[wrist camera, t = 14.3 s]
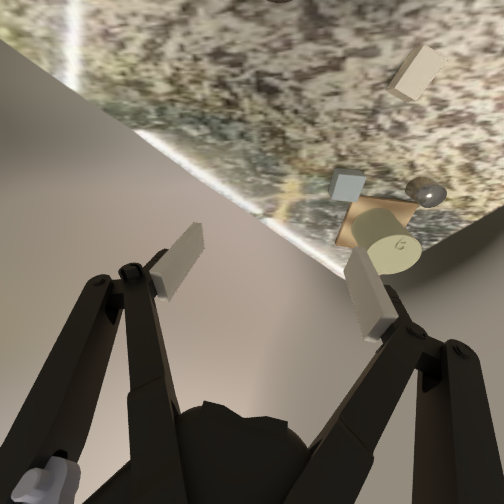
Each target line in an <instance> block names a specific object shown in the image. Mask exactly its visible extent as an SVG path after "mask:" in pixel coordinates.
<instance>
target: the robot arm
mask: <svg viewBox="0 0 504 504" xmlns="http://www.w3.org/2000/svg"><path fill="white" fill-rule="evenodd" d="M267 1H270V2H275V3H284V2H289V1H292V0H267ZM203 250H204V240H203V230H202V224H201V223H195V222H194V223H193V224H192V225H191V226H190V227H189V228H188V229H187V230H186V231H185V232H184V233H183V235H182V236H181V237H180V238H179V239H178V240H177V241H176V242H175V243H174V244H173V245H172V247H171V248H170V249H163V250H161V251H159V252H158V253H157V254H156V255H155V256H154V257H153V258H152V259H151V261H149V262H148V263H147V264H146V265H145V266H144V267H143V268H142V265H141V264H139V263H129V264H126V265H124V266H122V267H121V268H120V269H119V271H118V273H119V275H120V278H121V279H119V280H112V279H111V277H110V276H109V275H105V274H101V275H97V276H95V277H93V278H91V279H90V280H89V281H88V282H87V283H86V285H85V287H84V289H83V290H82V292H81V294H80V296H79V298H78V300H77V302H76V304H75V306H74V308H73V310H72V312H71V314H70V315H69V317H68V319H67V321H66V323H65V325H64V327H63V329H62V331H61V333H60V335H59V337H58V338H57V341H56V342H55V344H54V346H53V348H52V350H51V352H50V354H49V356H48V358H47V360H46V362H45V363H44V365H43V367H42V369H41V371H40V373H39V375H38V377H37V379H36V381H35V383H34V385H33V387H32V388H31V390H30V393H29V394H28V396H27V398H26V400H25V402H24V404H23V406H22V408H21V410H20V412H19V413H18V415H17V417H16V419H15V421H14V423H13V425H12V427H11V429H10V431H9V433H8V435H7V437H6V438H5V441H4V442H3V444H2V446H1V447H0V504H74V497H75V494H76V492H77V490H78V487H79V480H80V475H81V471H80V467H79V465H78V464H77V462H78V460H79V457H80V455H81V452H82V450H83V448H84V445H85V442H86V439H87V436H88V433H89V430H90V426H91V423H92V419H93V416H94V412H95V408H96V405H97V401H98V398H99V394H100V390H101V386H102V383H103V380H104V376H105V373H106V369H107V365H108V362H109V358H110V354H111V351H112V347H113V344H114V340H115V337H116V333H117V329H118V326H119V322H120V319H121V315H122V311H123V309H125V321H126V334H127V348H128V361H129V375H130V392H129V393H128V396H127V408H128V425H129V442H130V460H129V461H128V462H127V463H126V464H125V465H124V466H123V467H122V468H121V469H120V470H118V471H117V472H116V473H115V474H114V475H113V476H112V477H111V478H110V479H109V480H108V481H107V482H105V483H104V484H103V485H102V486H101V487H100V488H99V489H98V490H97V491H96V492H94V493H93V494H92V495H91V496H90V497H89V498H88V499H87V500H86V501H85V502H84V503H82V504H354V503H355V501H356V499H357V497H358V494H359V492H360V490H361V488H362V486H363V484H364V482H365V480H366V478H367V476H368V473H369V471H370V469H371V467H372V465H373V462H374V456H373V452H374V449H375V447H376V445H377V443H378V441H379V439H380V437H381V435H382V433H383V431H384V429H385V427H386V425H387V423H388V421H389V419H390V417H391V415H392V413H393V411H394V409H395V407H396V405H397V403H398V401H399V399H400V397H401V395H402V392H403V391H404V389H405V387H406V385H407V383H408V380H409V379H410V376H411V375H412V373H413V371H414V368H415V369H417V370H418V378H417V400H416V402H417V403H416V422H415V445H414V467H413V489H412V504H504V475H503V470H502V465H501V461H500V456H499V451H498V446H497V442H496V437H495V433H494V427H493V423H492V418H491V413H490V408H489V403H488V399H487V394H486V389H485V385H484V380H483V375H482V370H481V365H480V360H479V358H478V356H477V354H476V353H475V352H474V351H473V350H472V349H471V348H470V347H469V346H467V345H466V344H464V343H462V342H460V341H458V340H454V339H450V340H447V341H446V342H445V343H443V342H441V341H439V340H437V339H434V338H432V337H430V336H428V335H427V333H426V331H425V330H424V329H423V328H422V327H420V326H419V325H417V324H416V323H414V322H412V320H411V318H410V317H409V315H408V313H407V311H406V309H405V307H404V305H403V304H402V302H401V300H400V299H399V296H398V295H397V293H396V291H395V290H394V289H393V288H392V287H391V286H390V285H384V284H383V283H382V281H381V279H380V277H379V275H378V273H377V271H376V269H375V267H374V265H373V263H372V261H371V259H370V257H369V255H368V253H367V251H366V249H365V247H358V246H355V247H354V249H353V251H352V254H351V256H350V258H349V260H348V262H347V264H346V267H345V269H344V275H345V278H346V282H347V285H348V288H349V292H350V295H351V298H352V302H353V306H354V309H355V312H356V316H357V319H358V323H359V326H360V330H361V333H362V337H363V340H365V341H370V342H375V343H376V342H377V341H378V340H379V339H380V338H381V339H382V342H383V344H382V345H381V347H380V348H379V349H378V350H377V351H376V354H375V355H374V357H373V358H372V359H371V361H370V362H369V364H368V365H367V367H366V368H365V369H364V371H363V372H362V374H361V375H360V377H359V378H358V379H357V381H356V382H355V384H354V385H353V387H352V388H351V389H350V391H349V392H348V394H347V395H346V397H345V398H344V399H343V401H342V402H341V404H340V405H339V407H338V408H337V409H336V411H335V412H334V414H333V415H332V417H331V418H330V419H329V421H328V422H327V424H326V425H325V427H324V428H323V430H322V431H321V432H320V433H319V435H318V436H317V437H316V439H315V440H314V441H313V442H312V444H311V445H310V447H309V448H307V446H306V445H305V443H304V442H303V441H302V440H301V438H299V436H298V435H297V434H296V433H295V432H293V431H292V430H291V429H289V428H288V422H287V421H284V420H280V419H276V418H272V417H267V416H263V417H251V418H243V417H241V416H239V415H238V414H236V413H235V412H233V411H231V410H230V409H228V408H227V407H225V406H224V405H220V404H216V403H212V402H208V401H204V402H203V405H202V406H197V407H193V408H191V409H188V410H187V411H185V412H183V413H182V414H181V412H180V409H179V405H178V401H177V398H176V394H175V390H174V385H173V381H172V376H171V372H170V367H169V363H168V358H167V354H166V349H165V345H164V340H163V336H162V332H161V327H160V323H159V318H158V313H157V309H156V304H155V300H154V298H155V297H156V295H158V298H159V300H163V301H168V302H169V301H170V300H171V298H172V297H173V295H174V294H175V292H176V291H177V289H178V288H179V286H180V285H181V283H182V282H183V280H184V278H185V277H186V276H187V274H188V272H189V271H190V269H191V268H192V266H193V265H194V264H195V262H196V260H197V259H198V257H199V256H200V254H201V253H202V251H203Z"/></svg>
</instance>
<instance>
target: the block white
mask: <svg viewBox="0 0 504 504" xmlns="http://www.w3.org/2000/svg"><path fill="white" fill-rule="evenodd" d="M447 60H448V59H447V58H445V57H444V56H442V55H441V54H439V53H438V52H436V51H435V50H433V49H431V48H430V47H428V46H427V45H425V44H424V45H422V46H420V47H418V48H416V49H414V50H412V51H411V52H410V54H409V55H408V57H407V58H406V60H405V61H404V63H403V64H402V66H401V67H400V69H399V70H398V72H397V73H396V75H395V76H394V78H393V79H392V81H391V82H390V84H389V85H388V87H387V88H386V91H388V92H389V93H391V94H393V95H394V96H396V97H398V98H399V99H401V100H403V101H404V102H409V101H416V100H417V99H418V98H419V96H420V95H421V94H422V92H423V91H424V90H425V89H426V87H427V86H428V85H429V83H430V82H431V81H432V79H433V78H434V77H435V76H436V74H437V73H438V72H439V70H440V69H441V68H442V67H443V65H444V64H445V63H446V61H447Z"/></svg>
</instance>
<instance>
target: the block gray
mask: <svg viewBox="0 0 504 504" xmlns="http://www.w3.org/2000/svg"><path fill="white" fill-rule="evenodd" d="M365 180H366V176H365V175H364V174H363V173H362V172H361V171H360V170H351V169H341V168H335V169H334V173H333V176H332V180H331V183H330V187H329V190H328V192H329V195H330V197H331V199H332V200H341V201H350V202H357V200H358V198H359V195H360V193H361V190H362V188H363V185H364V182H365Z"/></svg>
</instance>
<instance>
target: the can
mask: <svg viewBox="0 0 504 504" xmlns="http://www.w3.org/2000/svg"><path fill="white" fill-rule="evenodd" d="M351 232H352V235H353V237H354V238H355V240H356V242H357V244H358V246H359V247H365V249H366V251H367V253H368V255H369V257H370V259H371V261H372V263H373V265H374V267H375V269H376V271H377V273H380V274H393V273H398V272H401V271H404V270H406V269H407V268H409V267H411V266H412V265H413V264H414V263H416V261H417V260H418V259H419V257H420V255H421V251H422V250H421V245H420V243H419V242H418V241H417V240H416V239H415V238H414V237H413V236H412V235H411V234H410V233H409V232H408V231H407V230H406V229H405V228H404V227H403V225H402V224H401V223H400V222H399V221H398V220H397V219H396V217H395V216H394V214H393V213H392V212H391V211H389V210H386V209H382V208H375V209H370V210H368V211H365V212H363V213H362V214H360V215H359V216H358V217H357V218H356V219H355V220H354V222H353V224H352V227H351Z"/></svg>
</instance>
